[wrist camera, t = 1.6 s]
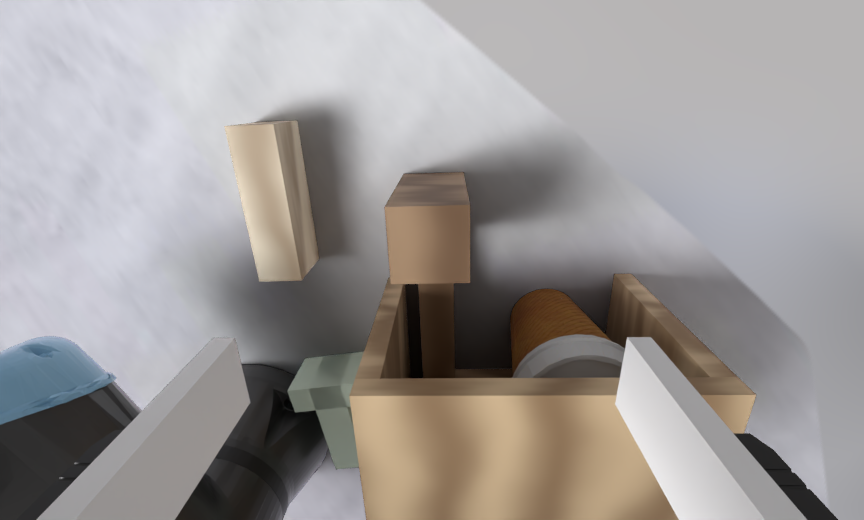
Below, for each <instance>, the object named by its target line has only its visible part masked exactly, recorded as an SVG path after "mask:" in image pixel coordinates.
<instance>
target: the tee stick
mask: <svg viewBox="0 0 864 520" xmlns="http://www.w3.org/2000/svg"><path fill="white" fill-rule="evenodd" d="M363 353H364V351H363V352H355V353H346V354H338V355H329V356H321V357H312V358H305V360H304V361H303V363H302V365H301V367H300V369H299V371H298V372H297V374H296V376H295V378H294V380H293V381H292V383H291V385H290V387H289V389H288V391H287V392H288V394H289V397H290V400H291V403H292V405H293V408H294V411H295V412H305V411H314V410H316V413H317V416H318V418H319V421H320V424H321V427H322V430H323V433H324V436H325V439H326V442H327V445H328V448H329V451H330V454H331V457H332V460H333V462H334V465H335V468H336V469H346V468H357V467H359V463H358V455H357V448H356V441H355V434H354V427H353V419H352V412H351V405H350V398H349V395H350V392H351V389H352V386H353V383H354V380H355V377H356V374H357V371H358V368H359V365H360V362H361V359H362V356H363Z"/></svg>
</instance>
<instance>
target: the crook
mask: <svg viewBox="0 0 864 520" xmlns="http://www.w3.org/2000/svg"><path fill="white" fill-rule="evenodd" d="M385 219H386V231H387V243H388V256H389V268H390V281H391V284H418V290H419V309H420V328H421V347H422V366H423V378H512V369H455V340H454V283H470V202H469V197H468V192H467V187H466V182H465V177H464V172H452V173H417V174H403V176H402V178H401V179H400V181H399V183H398V185H397V186H396V188H395V190H394V192H393V193H392V195H391V197H390V198H389V200H388V202H387V204H386V205H385Z"/></svg>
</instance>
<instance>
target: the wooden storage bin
mask: <svg viewBox="0 0 864 520" xmlns="http://www.w3.org/2000/svg"><path fill="white" fill-rule="evenodd" d="M605 334H606V336H607V337H608V338H609V339H610V340H611V341H612V342H614V343H617V344H619V345H620V346H622V347H623V348H624V349H625V347H626V341H627V337H651V338H652V339H653V340H654V341H655V342H656V343H657V345H658V346H659V347H660V348H661V349H662V350H663V352H664V353H665V354H666V355H667V356H668V358H669V359H670V360H671V361H672V362H673V363H674V365H675V366H676V367H677V368H678V369H679V370H680V372H681V373H682V374H683V375H684V376H685V377H686V379H687V380H688V381H689V382H690V383H691V384H692V386H693V387H694V388H695V389H696V390H697V391H698V393H699V394H700V395H701V396H702V397H703V398H704V400H705V401H706V402H707V403H708V404H709V405H710V407H711V408H712V409H713V410H714V411H715V412H716V414H717V415H718V416H719V417H720V418H721V420H722V421H723V422H724V423H725V424H726V425H727V427H728V428H729V429H730V430H731V431H732V432H733V433H741V434H744V431H745V428H746V425H747V422H748V419H749V416H750V413H751V410H752V407H753V404H754V401H755V398H756V394H755V393H754V392H753V391H752V390H751V389H750V388H749V387H748V386H747V385H746V384H744V383H743V382H742V381H741V380H740V379H739V378H738V377H737V376H736V375H735V374H734V373H733V372H732V371H731V370H730V369H729V368H728V367H727V366H726V365H725V364H724V363H723V362H722V361H721V360H720V359H719V358H718V357H717V356H716V355H715V354H714V353H712V352H711V351H710V350H709V349H708V348H707V347H706V346H705V345H704V344H703V343H702V342H701V341H700V340H699V339H698V338H697V337H696V336H695V335H694V334H693V333H692V332H691V331H690V330H689V329H688V328H687V327H686V326H685V325H684V324H683V323H681V322H680V321H679V320H678V319H677V318H676V317H675V316H674V315H673V314H672V313H671V312H670V311H669V310H668V309H667V308H666V307H665V306H664V305H663V304H662V303H661V302H660V301H659V300H658V299H657V298H656V297H655V296H654V295H653V294H652V293H651V292H649V291H648V290H647V289H646V288H645V287H644V286H643V285H642V284H641V283H640V282H639V281H638V280H637V279H636V278H635V277H634V276H633V275H632V274H614V278H613V285H612V292H611V299H610V306H609V313H608V320H607V327H606V333H605ZM619 380H620V378H411V367H410V352H409V336H408V321H407V306H406V291H405V284H391V281H390V278H388V281H387V284H386V287H385V290H384V293H383V296H382V299H381V302H380V305H379V308H378V311H377V314H376V317H375V320H374V323H373V326H372V329H371V332H370V335H369V338H368V341H367V344H366V347H365V350H364V353H363V356H362V359H361V362H360V365H359V368H358V371H357V374H356V377H355V380H354V383H353V386H352V389H351V392H350V395H349V398H350V405H351V412H352V419H353V427H354V434H355V441H356V448H357V455H358V463H359V470H360V477H361V484H362V491H363V499H364V506H365V513H366V520H679V519H678V517H677V516H676V514H675V512H674V510H673V508H672V507H671V505H670V503H669V501H668V499H667V497H666V496H665V494H664V492H663V490H662V488H661V487H660V485H659V483H658V481H657V479H656V478H655V476H654V474H653V472H652V470H651V468H650V467H649V465H648V463H647V461H646V459H645V458H644V456H643V454H642V452H641V450H640V448H639V447H638V445H637V443H636V441H635V439H634V438H633V436H632V434H631V432H630V430H629V428H628V427H627V425H626V423H625V421H624V419H623V418H622V416H621V414H620V412H619V410H618V408H617V407H616V405H615V402H616V396H617V391H618V385H619Z"/></svg>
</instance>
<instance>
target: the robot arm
mask: <svg viewBox="0 0 864 520" xmlns="http://www.w3.org/2000/svg"><path fill="white" fill-rule="evenodd" d="M294 378H295V376H294V375H292V374H290V373H287V372H285V371H282V370H280V369H276V368H273V367H268V366H262V365H241V361H240V357H239V352H238V348H237V344H236V340H235V338H213V339H212V340H211V341H210V342H209V343H208V344H207V345H206V346H205V347H204V348H203V349H202V350H201V351H200V352H199V353H198V354H197V355H196V356H195V357H194V358H193V359H192V360H191V361H190V362H189V363H188V364H187V365H186V366H185V367H184V368H183V369H182V370H181V371H180V372H179V374H178V375H177V376H176V377H175V378H174V379H173V380H172V381H171V382H170V383H169V384H168V385H167V386H166V387H165V388H164V389H163V390H162V391H161V392H160V393H159V394H158V395H157V396H156V397H155V398H154V399H153V400H152V401H151V402H150V403H149V404H148V405H147V406H146V407H145V408H144V410H143V411H142V410H141V409H140V408H139V407H138V406H137V405H136V404H135V403H134V402H133V401H132V400H131V399H130V398H129V397H128V396H127V395H126V393H125V392H124V391H123V390H122V389H121V388H120V387H119V386H118V385H117V384H116V383H115V382H114V380H115V379H116V377H115V376H114V375H113V374H112V373H109V372H105V371H104V370H103V369H102V368H101V367H100V366H99V365H98V364H97V363H96V362H95V361H94V360H93V359H92V358H91V357H89V356H88V355H87V354H86V353H85V352H84V351H83V350H82V349H81V348H80V347H79V346H78V345H77V344H75V343H74V342H72V341H70V340H68V339H65V338H61V337H54V336H45V337H38V338H34V339H31V340H28V341H25V342H23V343H20V344H18V345H15V346H13V347H10V348H8V349H6V350H3V351H1V352H0V520H283V518H284V515H285V513H286V510H287V508H288V505H289V504H290V503H291V501H292V500H293V499H294V498H295V497H296V495H297V494H298V493H299V492H300V490H301V489H302V488H303V487H304V485H305V484H306V483H307V482H308V480H309V479H310V478H311V476H312V475H313V474H314V473H315V472H316V471H317V469H318V468H319V467H320V465H321V464H322V462H323V460H324V458H325V455H326V453H327V450H328V445H327V442H326V439H325V436H324V433H323V430H322V427H321V424H320V421H319V418H318V416H317V413H316V410H314V411H305V412H295V411H294V408H293V405H292V403H291V400H290V397H289V394H288V392H287V391H288V389H289V387H290V385H291V383H292V381H293V380H294ZM615 405H616V407H617V408H618V410H619V412H620V414H621V416H622V418H623V419H624V421H625V423H626V425H627V427H628V428H629V430H630V432H631V434H632V436H633V438H634V439H635V441H636V443H637V445H638V447H639V448H640V450H641V452H642V454H643V456H644V458H645V459H646V461H647V463H648V465H649V467H650V468H651V470H652V472H653V474H654V476H655V478H656V479H657V481H658V483H659V485H660V487H661V488H662V490H663V492H664V494H665V496H666V497H667V499H668V501H669V503H670V505H671V507H672V508H673V510H674V512H675V514H676V516H677V517H678V519H679V520H838V519H837V518H836V517H835V516H834V515H833V514H832V513H831V512H830V510H829V509H828V508H827V507H826V506H825V505H824V504H823V503H822V502H821V501H820V500H819V499H818V498H817V496H816V495H815V494H814V493H813V492H812V491H811V490H810V489H807V488H806V485H805V484H804V482H803V481H802V480H801V479H800V478H799V477H798V476H797V475H796V474H795V473H792V472H791V468H790V467H789V466H788V465H787V464H786V463H785V462H784V461H783V460H782V459H781V458H780V457H779V456H778V454H777V453H776V452H775V451H774V450H773V449H771V448H770V447H768V446H767V445H766V444H764V443H763V442H761V441H760V440H758V439H757V438H755V437H754V436H753V435H751V434H741V433H733V432H732V431H731V430H730V429H729V428H728V427H727V425H726V424H725V423H724V422H723V421H722V420H721V418H720V417H719V416H718V415H717V414H716V412H715V411H714V410H713V409H712V408H711V407H710V405H709V404H708V403H707V402H706V401H705V400H704V398H703V397H702V396H701V395H700V394H699V393H698V391H697V390H696V389H695V388H694V387H693V386H692V384H691V383H690V382H689V381H688V380H687V379H686V377H685V376H684V375H683V374H682V373H681V372H680V370H679V369H678V368H677V367H676V366H675V365H674V363H673V362H672V361H671V360H670V359H669V358H668V356H667V355H666V354H665V353H664V352H663V350H662V349H661V348H660V347H659V346H658V345H657V343H656V342H655V341H654V340H653V339H652V338H651V337H627V341H626V347H625V352H624V358H623V363H622V369H621V374H620V380H619V385H618V391H617V396H616V402H615Z"/></svg>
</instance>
